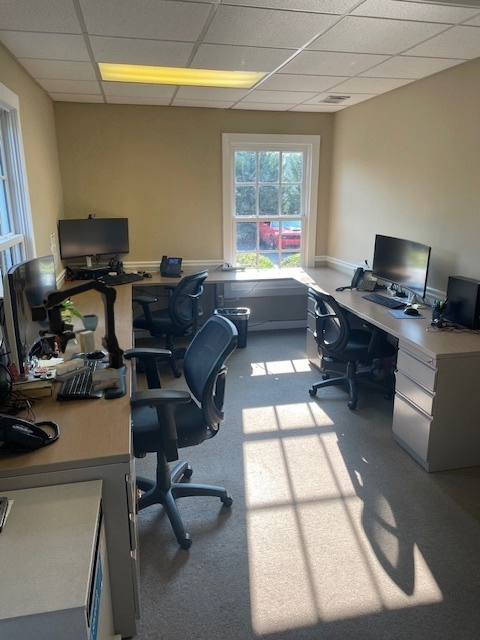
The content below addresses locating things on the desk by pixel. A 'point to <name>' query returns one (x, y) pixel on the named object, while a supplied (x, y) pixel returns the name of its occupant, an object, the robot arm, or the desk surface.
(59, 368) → the key
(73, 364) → the key
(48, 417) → the desk surface
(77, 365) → the key
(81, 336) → the skincare box
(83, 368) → the keypad base
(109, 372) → the geological specimen
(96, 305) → the desk surface
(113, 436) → the desk surface
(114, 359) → the robot arm
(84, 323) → the flower pot
